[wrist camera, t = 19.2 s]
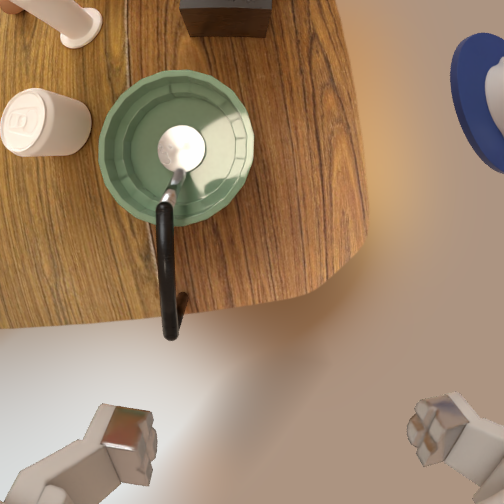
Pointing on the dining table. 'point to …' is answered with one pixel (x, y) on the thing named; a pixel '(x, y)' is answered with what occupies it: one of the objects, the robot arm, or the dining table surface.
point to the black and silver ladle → (178, 161)
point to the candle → (66, 19)
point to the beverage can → (44, 124)
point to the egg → (10, 7)
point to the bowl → (155, 125)
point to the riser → (226, 17)
